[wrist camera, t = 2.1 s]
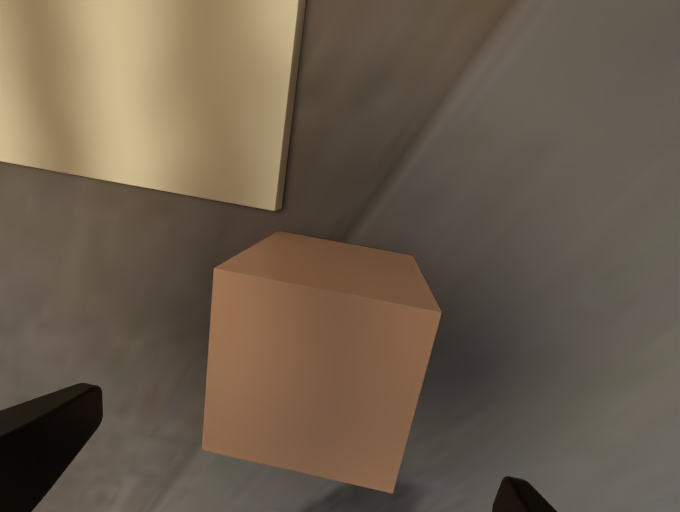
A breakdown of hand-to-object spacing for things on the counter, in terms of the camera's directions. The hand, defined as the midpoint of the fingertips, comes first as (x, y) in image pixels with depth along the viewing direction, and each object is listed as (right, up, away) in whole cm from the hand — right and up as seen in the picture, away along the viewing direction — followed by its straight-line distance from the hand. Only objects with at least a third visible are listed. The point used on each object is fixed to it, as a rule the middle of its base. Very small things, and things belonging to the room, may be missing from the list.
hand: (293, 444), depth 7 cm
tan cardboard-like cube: (+1, +2, +8) cm, 8 cm away
